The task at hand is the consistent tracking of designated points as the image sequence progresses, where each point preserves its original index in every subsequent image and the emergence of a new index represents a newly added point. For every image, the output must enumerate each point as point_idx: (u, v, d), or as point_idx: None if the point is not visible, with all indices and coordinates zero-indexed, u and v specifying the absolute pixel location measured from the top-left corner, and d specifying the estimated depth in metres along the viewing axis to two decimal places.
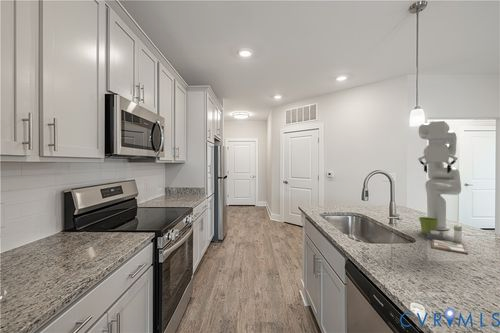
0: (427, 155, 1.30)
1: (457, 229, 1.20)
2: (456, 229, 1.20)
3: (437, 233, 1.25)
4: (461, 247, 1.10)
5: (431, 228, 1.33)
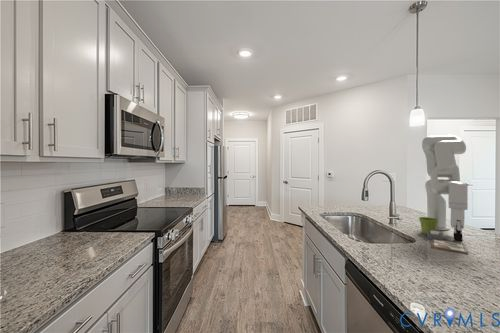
0: None
1: None
2: None
3: (437, 233, 1.25)
4: (461, 247, 1.10)
5: (431, 228, 1.33)
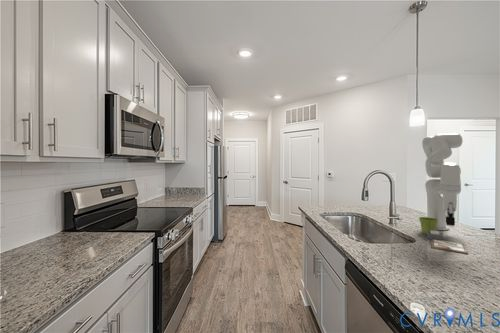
0: (456, 203, 1.11)
1: None
2: (448, 212, 1.15)
3: (437, 233, 1.25)
4: (461, 247, 1.10)
5: (431, 228, 1.33)
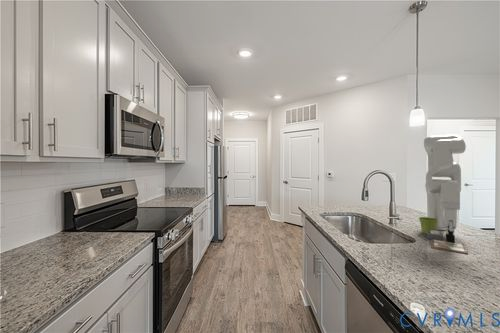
0: (456, 221, 1.11)
1: None
2: None
3: (437, 233, 1.25)
4: (461, 247, 1.10)
5: (431, 228, 1.33)
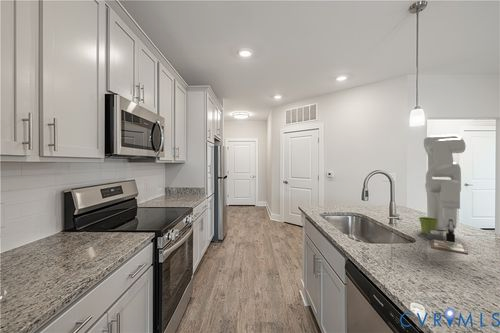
0: (456, 220, 1.11)
1: None
2: None
3: (437, 233, 1.25)
4: (461, 247, 1.10)
5: (431, 228, 1.33)
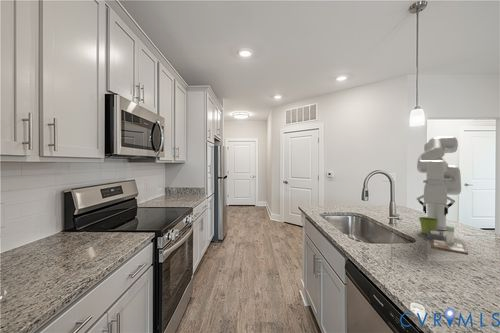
0: None
1: (449, 230, 1.15)
2: (448, 230, 1.16)
3: (437, 233, 1.25)
4: (461, 247, 1.10)
5: (431, 228, 1.33)
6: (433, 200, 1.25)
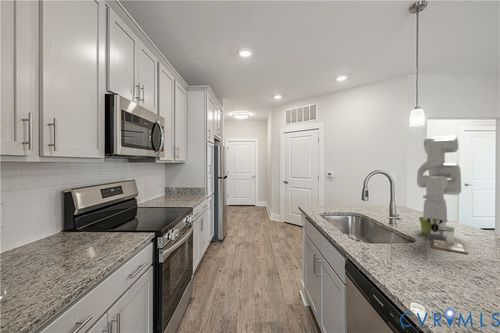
0: None
1: (449, 230, 1.15)
2: (448, 230, 1.16)
3: (437, 233, 1.25)
4: (461, 247, 1.10)
5: (431, 228, 1.33)
6: (433, 216, 1.25)
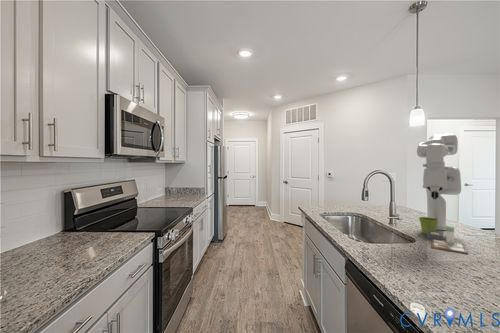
0: None
1: (449, 230, 1.15)
2: (448, 230, 1.16)
3: None
4: (461, 247, 1.10)
5: (431, 228, 1.33)
6: (433, 183, 1.25)
